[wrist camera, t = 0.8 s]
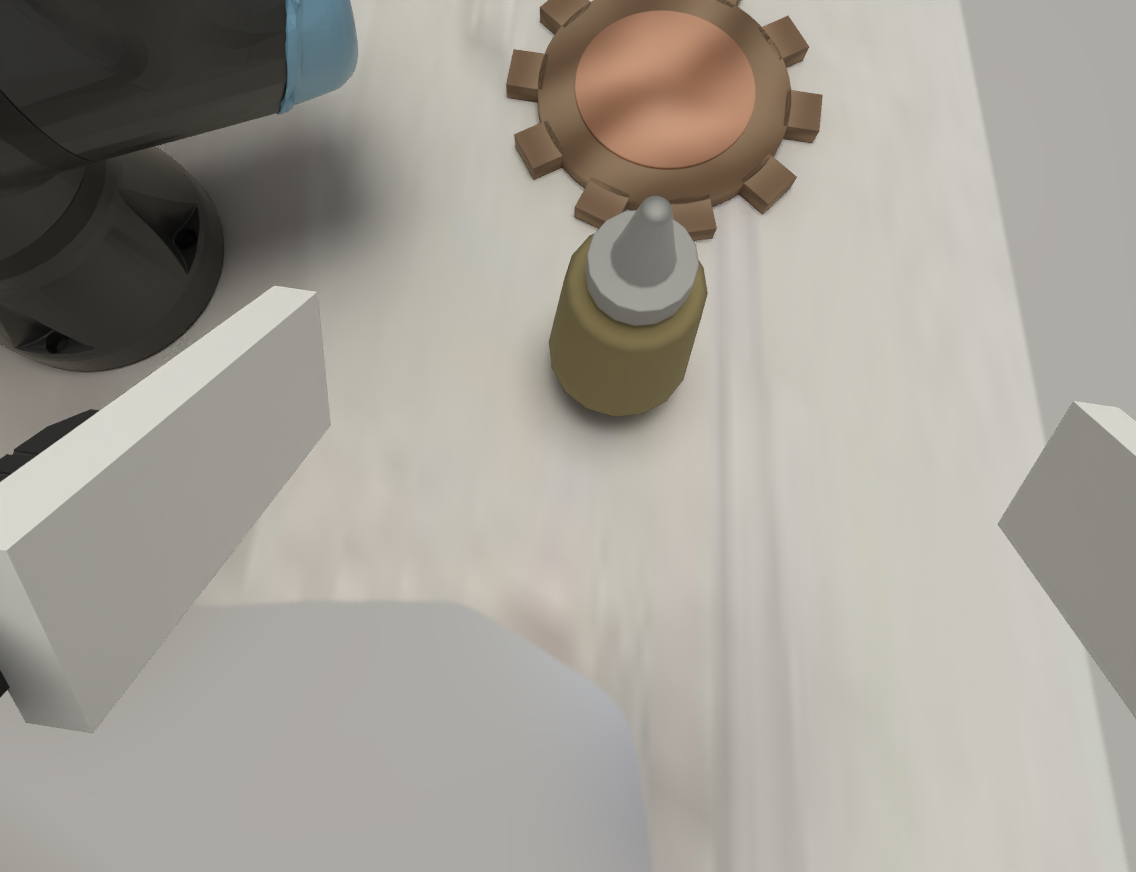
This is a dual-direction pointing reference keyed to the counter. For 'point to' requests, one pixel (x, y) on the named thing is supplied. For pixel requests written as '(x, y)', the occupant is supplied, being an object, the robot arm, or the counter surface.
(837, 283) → the counter surface
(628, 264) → the squeeze bottle
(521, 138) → the sprocket disc
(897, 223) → the counter surface
